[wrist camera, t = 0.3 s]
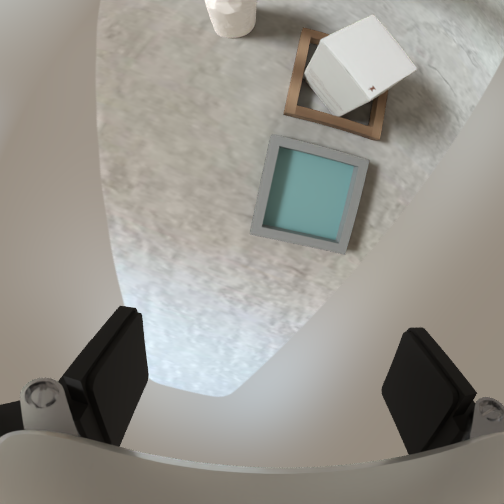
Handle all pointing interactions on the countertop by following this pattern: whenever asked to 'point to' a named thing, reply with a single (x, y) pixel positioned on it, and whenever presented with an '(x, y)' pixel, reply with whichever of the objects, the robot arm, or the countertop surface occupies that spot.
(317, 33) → the wooden picture frame
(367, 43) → the supplement box
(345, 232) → the dock
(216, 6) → the white rounded piece
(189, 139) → the countertop surface
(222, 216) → the countertop surface
